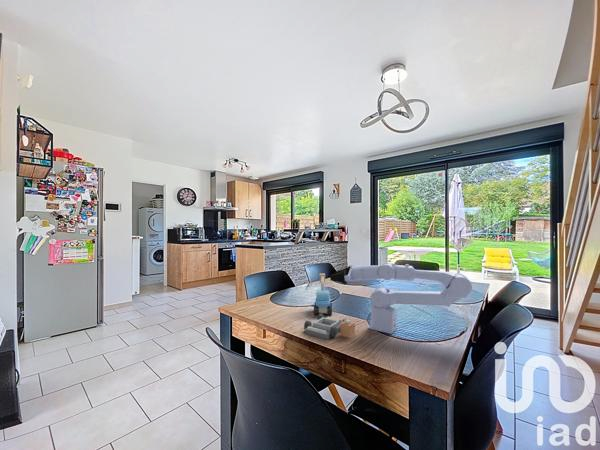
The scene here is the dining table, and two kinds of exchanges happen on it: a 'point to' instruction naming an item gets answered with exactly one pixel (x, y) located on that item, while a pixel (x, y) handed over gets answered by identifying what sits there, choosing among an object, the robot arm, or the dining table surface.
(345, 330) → the block
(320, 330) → the chassis
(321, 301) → the toy excavator
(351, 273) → the robot arm
